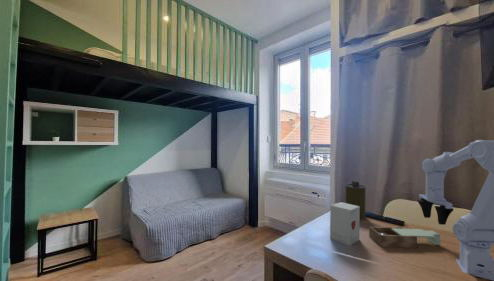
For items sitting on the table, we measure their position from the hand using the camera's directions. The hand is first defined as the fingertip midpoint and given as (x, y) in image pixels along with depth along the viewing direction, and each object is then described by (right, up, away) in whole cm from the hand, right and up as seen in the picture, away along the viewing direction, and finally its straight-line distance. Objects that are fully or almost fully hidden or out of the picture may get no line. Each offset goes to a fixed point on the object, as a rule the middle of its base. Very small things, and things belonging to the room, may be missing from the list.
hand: (434, 220), depth 91 cm
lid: (-7, -9, 0) cm, 12 cm away
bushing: (-20, -9, +1) cm, 22 cm away
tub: (-17, -10, +1) cm, 20 cm away
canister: (-16, -10, +34) cm, 39 cm away
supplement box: (-36, -10, +3) cm, 37 cm away
